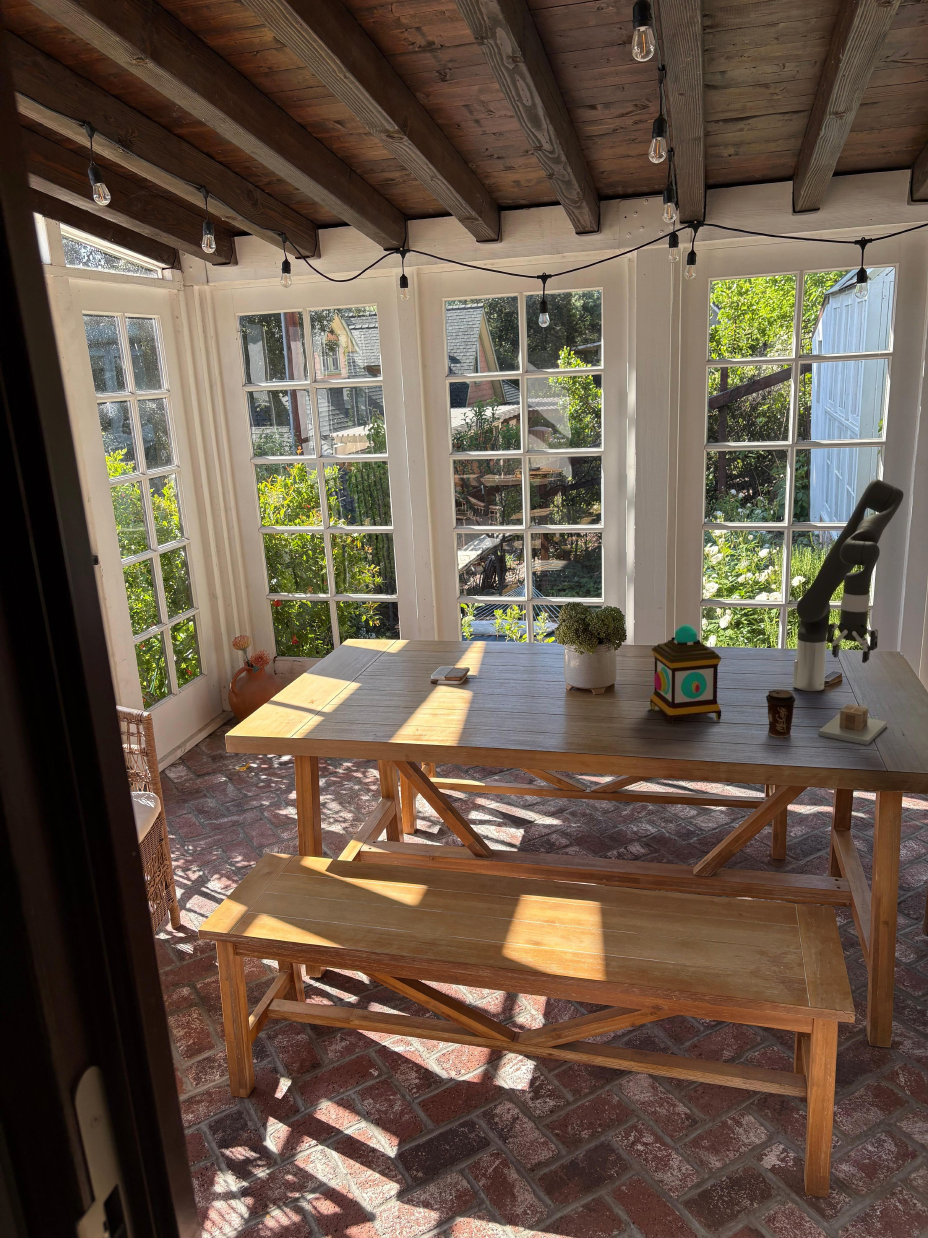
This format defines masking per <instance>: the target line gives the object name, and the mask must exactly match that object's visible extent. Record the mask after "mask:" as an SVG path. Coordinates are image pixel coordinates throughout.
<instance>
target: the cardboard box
mask: <svg viewBox="0 0 928 1238" xmlns="http://www.w3.org/2000/svg"><path fill="white" fill-rule="evenodd" d="M839 713H840V724H839V728H844V729H849V730H855V731H861V730H862V729H863V728H864V727H866V726H867V721H868V717H869V707H865V706H860V705H854V704H846V705H845V706H844V707H843V708H842V709H840V711H839Z"/></svg>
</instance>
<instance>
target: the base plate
mask: <svg viewBox="0 0 928 1238" xmlns="http://www.w3.org/2000/svg"><path fill="white" fill-rule="evenodd" d="M839 724H840V712H839V713H837V714H836V716H835V717H833V718H832V719H831V720H829V722H827V723H826V724H824V726H822V727H821V728H820V729H819V730H818V736H820V737H826V738H830V739H836V740H840V741H845V742H849V743H850V742H851V743H856V744H859V743H860V745H865V746H868V745H869V744H871V742H873V740H874V739H876V738H877V737H878V735H879V734H880V733H881V732H883V730H885V729H886V728H887V724H888V722H887V721H885V720H880V719H879V720H878V719H874V718H870V717H869V718H868V721H867V726H866V727H864V728H863V729H862V730H861V731H855V730H849V729H844V728H839Z"/></svg>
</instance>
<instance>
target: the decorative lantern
mask: <svg viewBox="0 0 928 1238" xmlns="http://www.w3.org/2000/svg"><path fill="white" fill-rule="evenodd" d="M651 652H652V654H653V657H654V679H653V681H654V691H653V693H652V695H651V697H650V701H649V702H650V703H649V704H650V709H652V710H654V709H656V707H657V708H658V709H659V710H660V711H662V713H663V714H665V715H666V716H667V723H668V725H669V726H673V723H674V719H675V718H679V717H689V716H697V715H699V716H700V715H709V714H715V719H716V721H720V720H721V719H722V710H721V707H720V705H719V702H718V676H719V675H718V670H719V669H718V668H719V664H720V663H721V660H722V656H720V655H719V653H717V652H716V651H715V650H714V649H712V648H710V647H709V646H708V645H706V644H704V643H702V642H701V640H700V639H698V633H697V630H696V629H695V628H694V627H693V626H691V625H689V624H683V625H681V626H680V627H678V628H677V629H676V630H675V632H674V637H671V638H670V639H669V640H667V641H665V642H664V643H658V644H657V645H655V646H653V647H652V648H651Z"/></svg>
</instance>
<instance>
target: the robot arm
mask: <svg viewBox="0 0 928 1238" xmlns="http://www.w3.org/2000/svg"><path fill="white" fill-rule="evenodd" d="M904 494H905V493H904V492H903V490H901V489H900V488H898V487H897V486H894V485H893V484H890V483H888V482H886V481H884V480H881V479H878V478H875V479H873V480H871V481H870V483H869V484H868V485H867V487H865V490H864V492H863V493H862V495H861V497H860V499H859V501H858V503H857V504H856V507H855V509H854V510H853V512H852V513H851V516H850V517H849V520H848V521H847V523H846V524H845V526H844V528H843V530H842V531H841V532H840V534H839V535H838V536H837V539H835V542H834V544H833V545H832V547H831V548H830V550H829V552H828V554H826V557H825V559H824V560H823V563H822V565H821V566H820V569H819V571H818V572H817V575H816V577H815V579H814V581H813V582H812V583H811V585H810V586H809V588H808V589H807V590H806V592H805V593H804V594H803V595H802V596H801V598H800V599H799V600H798V602H797V603H796V614H797V616H798V618H799V619H800V624H799V628H798V630H797V643H796V659H795V660H794V662H793V663H794V664H793V682H792V683H793V684H792V687H793V688H794V689H795V688H796V689H798V690H801V691H805V692H820V691H823V690H824V689H825V676H826V673H825V672H826V656H827V655H826V654H827V653H826V652H827V643H829V644H831V646H832V648H831V650H832V651H831V655H832V656H833V658H834V659H835V658H836V659H837V658H839V655H840V643H841V642H842V641H843V640H845V641H847V642H848V641H852V642H855V643H856V642H857V643H858V645H859V646H861V649H862V650H863V651H862V655H861V657H862V659H861V663H862V664H866V663H867V662H868V661H870V654H871V651H874V650H876V649H877V648H878V640H879V639H878V637H879V635H878V634H879V632H878V631H879V630H878V629H876V628H875V629H868V625H867V624H868V617H869V607H870V606H869V605H870V587H871V579H872V575H873V572H874V569H875V567H876V565H877V562H878V560H879V557H880V553H881V551H880V547H879V545H878V544H879V542H880V539H881V536H882V534H883V532H884V531H885V529H886V527H887V526H888V525H889V523H890V522H891V520H892V519H893V517H894V515H895V514H896V512H897V511H898V509H900V508H899V507H900V505H901V504H902V501H903V499H904ZM867 509H869V510H872V511H873V512H875V513H874V514H872V515H871V514H870V515H869V516H866V517H865V514H866V510H867ZM857 566H861V567H862V566H863V569H862V570H861V571H853V570H854V568H855V567H857ZM852 571H853V572H852ZM842 583H843V590H842V597H841V602H840V614H839V616H840V618H839V623H836V622H835V621H834V622H831V623H830V614H831V604H830V601H831V599H832V597H833V595H834V593H835V592H836V591H837V589H838V588H839V586H840V585H842ZM837 630H838V632H839V633H840V634H838V636H837V637H836V638H834V637H835V632H836V631H837ZM867 634H868V637H869V638H870V639H869V640H868V639H867V637H866V635H867ZM868 641H870V642H868Z"/></svg>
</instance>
